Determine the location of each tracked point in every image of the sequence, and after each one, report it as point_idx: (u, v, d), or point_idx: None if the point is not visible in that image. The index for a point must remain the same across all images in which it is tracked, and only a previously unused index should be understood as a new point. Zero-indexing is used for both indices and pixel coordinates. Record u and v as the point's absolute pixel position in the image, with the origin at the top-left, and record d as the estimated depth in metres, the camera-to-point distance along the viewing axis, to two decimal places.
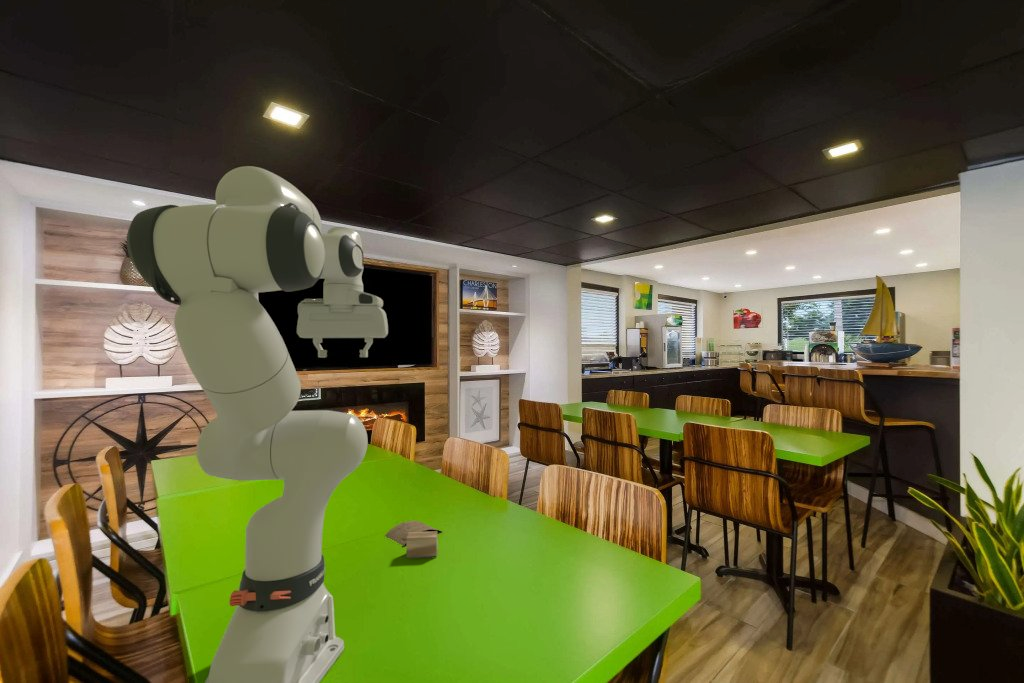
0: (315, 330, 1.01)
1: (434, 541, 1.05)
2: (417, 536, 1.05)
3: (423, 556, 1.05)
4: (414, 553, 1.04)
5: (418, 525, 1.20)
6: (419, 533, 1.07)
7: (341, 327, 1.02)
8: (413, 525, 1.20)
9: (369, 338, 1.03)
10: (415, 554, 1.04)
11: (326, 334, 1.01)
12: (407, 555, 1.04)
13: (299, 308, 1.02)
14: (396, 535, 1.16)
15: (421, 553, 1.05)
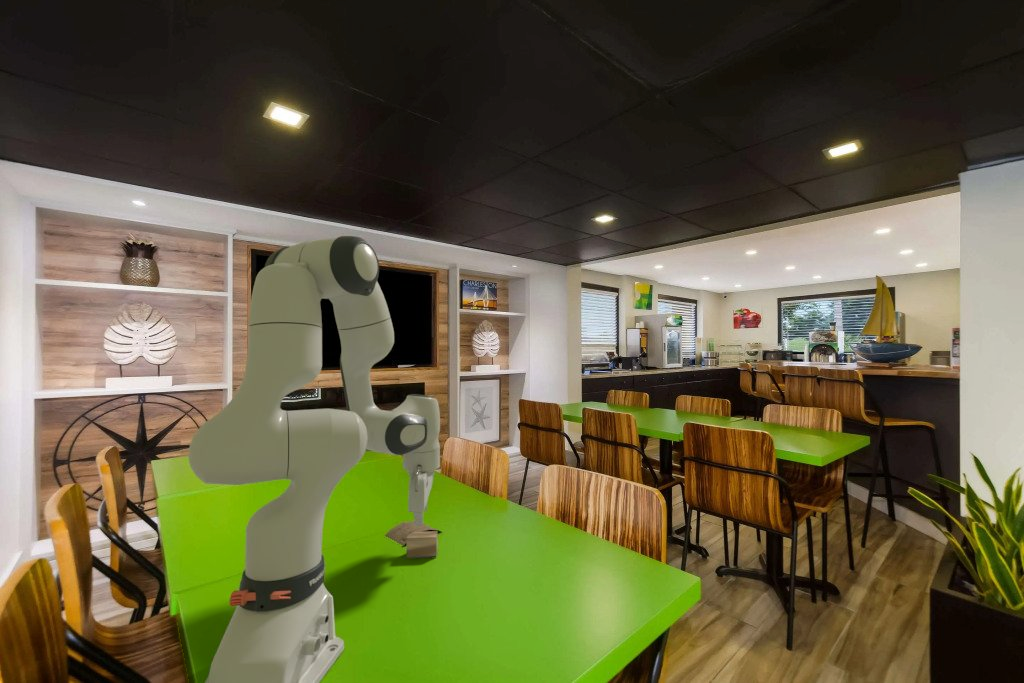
0: (426, 499, 1.02)
1: (434, 541, 1.05)
2: (417, 536, 1.05)
3: (423, 556, 1.05)
4: (414, 553, 1.04)
5: None
6: (419, 533, 1.07)
7: (428, 488, 1.07)
8: (413, 525, 1.20)
9: None
10: (415, 554, 1.04)
11: (427, 499, 1.04)
12: (407, 555, 1.04)
13: (418, 482, 0.98)
14: (396, 535, 1.16)
15: (421, 553, 1.05)
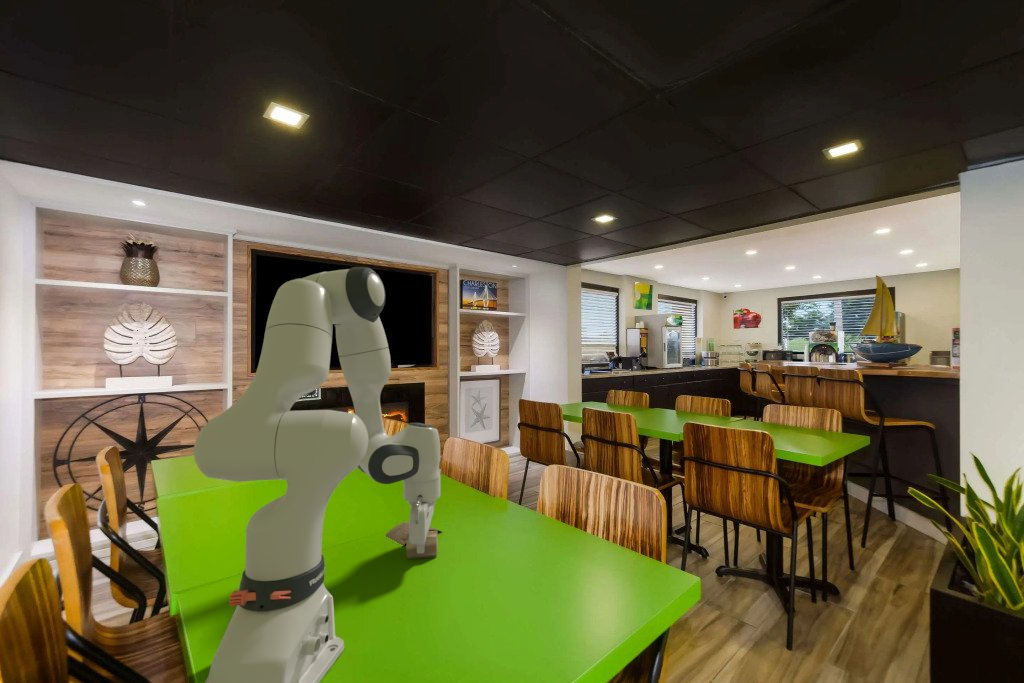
0: (427, 530, 1.01)
1: (434, 540, 1.05)
2: None
3: (423, 556, 1.05)
4: (414, 553, 1.04)
5: None
6: None
7: (429, 518, 1.07)
8: None
9: None
10: (415, 554, 1.04)
11: None
12: (407, 555, 1.04)
13: (418, 513, 0.97)
14: (396, 535, 1.16)
15: (421, 553, 1.05)
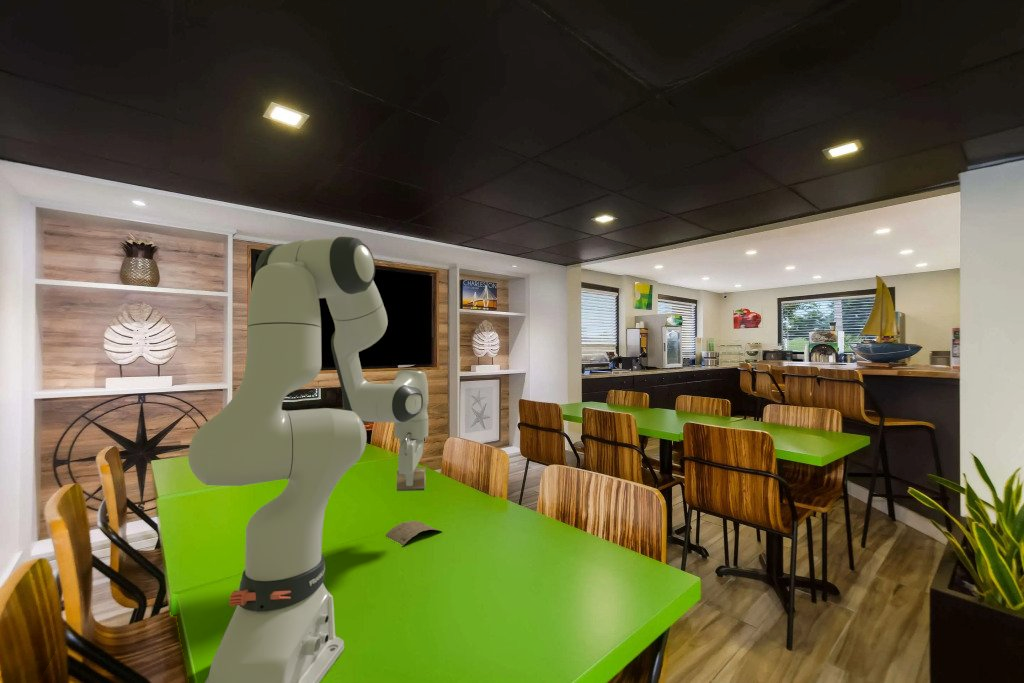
0: (415, 463, 1.11)
1: (422, 475, 1.15)
2: None
3: (412, 488, 1.15)
4: (404, 485, 1.15)
5: (418, 525, 1.20)
6: None
7: (418, 455, 1.17)
8: (413, 525, 1.20)
9: None
10: (405, 486, 1.15)
11: (416, 465, 1.14)
12: (397, 487, 1.15)
13: (407, 446, 1.07)
14: (396, 535, 1.16)
15: (410, 486, 1.15)
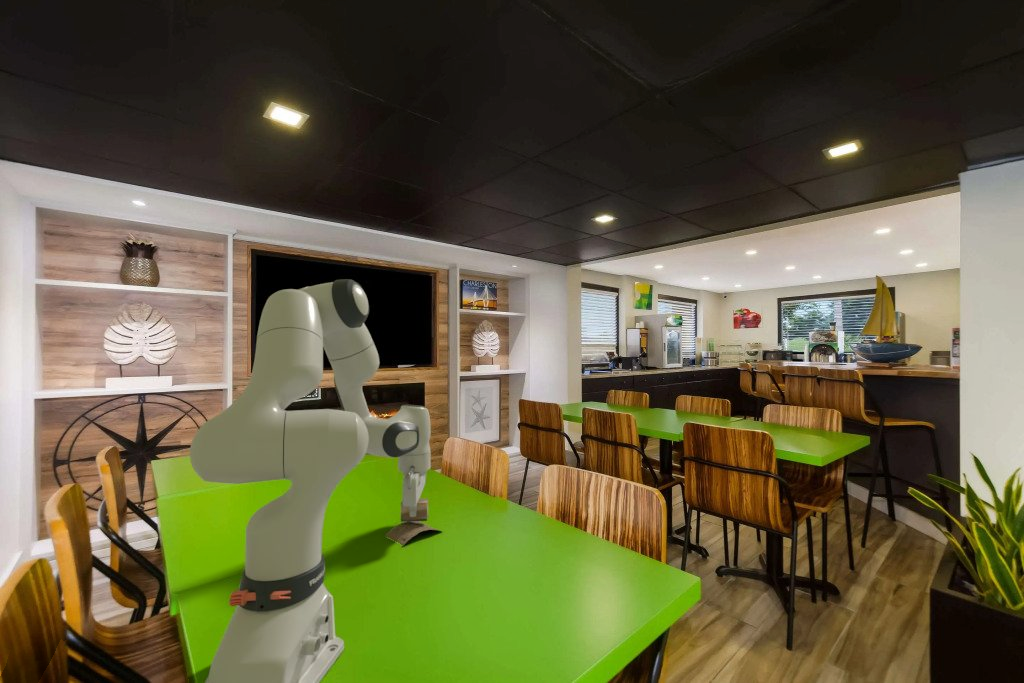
0: (418, 496, 1.17)
1: (425, 506, 1.20)
2: None
3: (415, 519, 1.20)
4: (407, 516, 1.20)
5: (418, 525, 1.20)
6: None
7: (421, 487, 1.22)
8: (413, 525, 1.20)
9: None
10: (408, 517, 1.20)
11: (419, 497, 1.19)
12: (401, 518, 1.20)
13: (410, 480, 1.13)
14: (396, 535, 1.16)
15: (414, 517, 1.20)
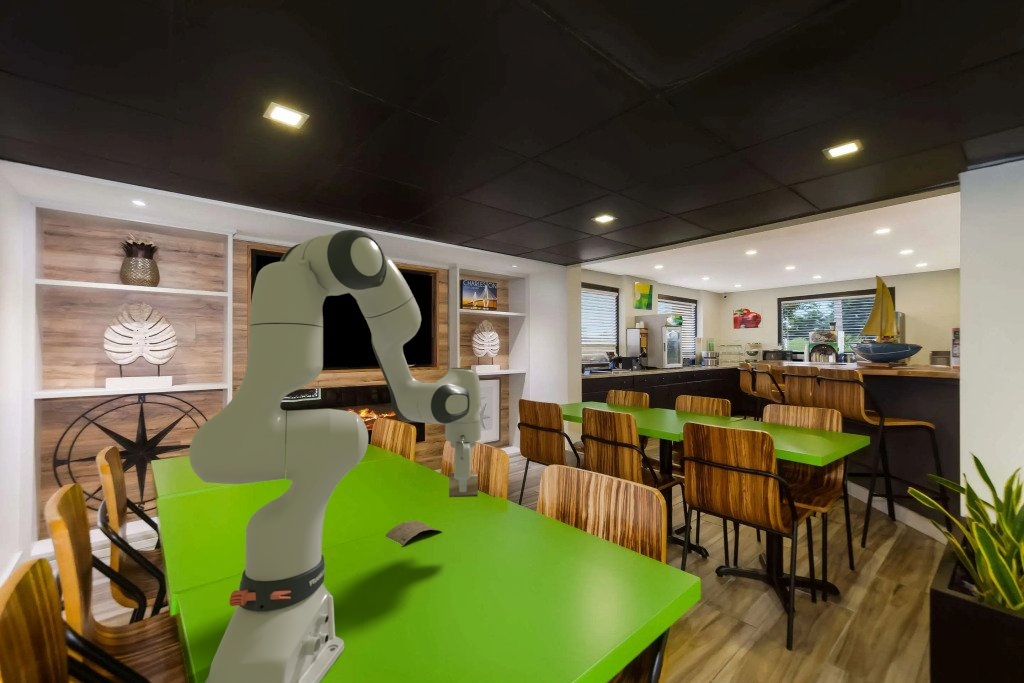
0: None
1: (475, 480, 1.08)
2: None
3: (465, 494, 1.08)
4: (456, 491, 1.08)
5: (418, 525, 1.20)
6: None
7: (470, 459, 1.10)
8: (413, 525, 1.20)
9: None
10: (457, 492, 1.08)
11: None
12: (450, 493, 1.08)
13: (463, 450, 1.00)
14: (396, 535, 1.16)
15: (463, 492, 1.08)
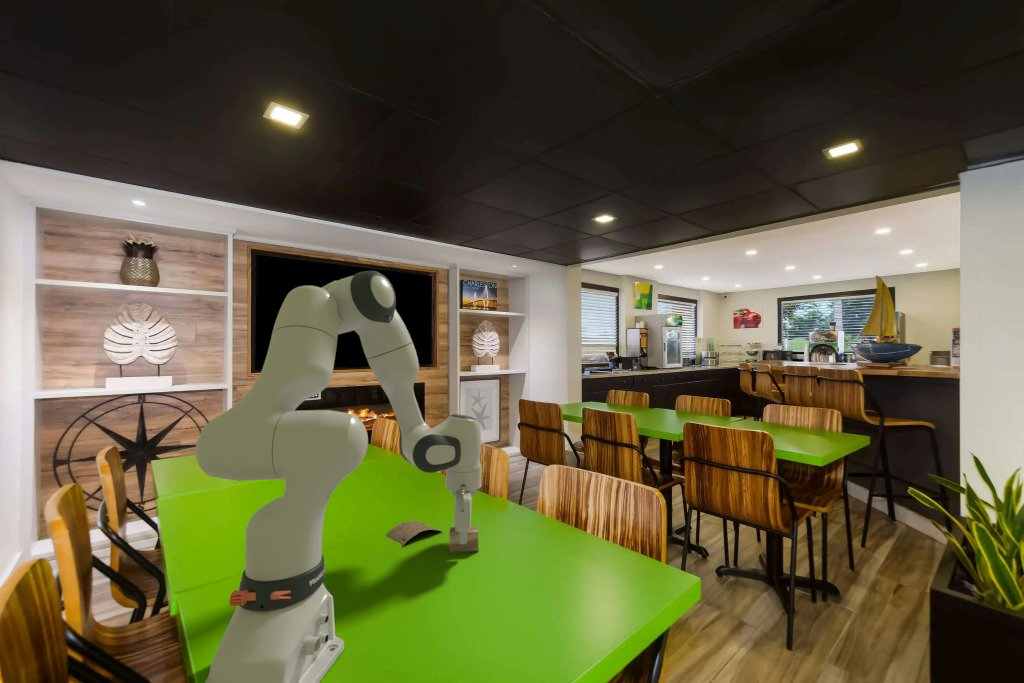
0: None
1: (476, 536, 1.08)
2: None
3: (465, 550, 1.07)
4: (457, 547, 1.07)
5: (418, 525, 1.20)
6: None
7: None
8: (413, 525, 1.20)
9: None
10: (458, 548, 1.07)
11: None
12: (450, 549, 1.07)
13: (464, 502, 1.00)
14: (396, 535, 1.16)
15: (464, 548, 1.08)
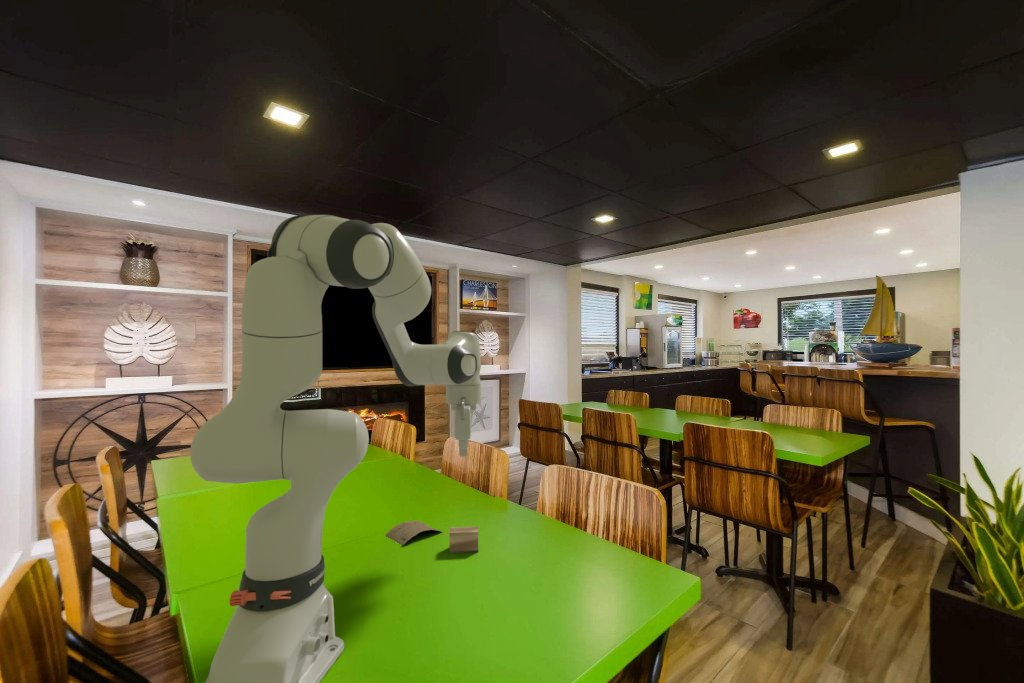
0: None
1: (476, 536, 1.08)
2: (459, 531, 1.08)
3: (465, 550, 1.07)
4: (457, 547, 1.07)
5: (418, 525, 1.20)
6: (461, 528, 1.10)
7: None
8: (413, 525, 1.20)
9: None
10: (458, 548, 1.07)
11: None
12: (450, 549, 1.07)
13: (464, 410, 1.01)
14: (396, 534, 1.16)
15: (464, 548, 1.08)
